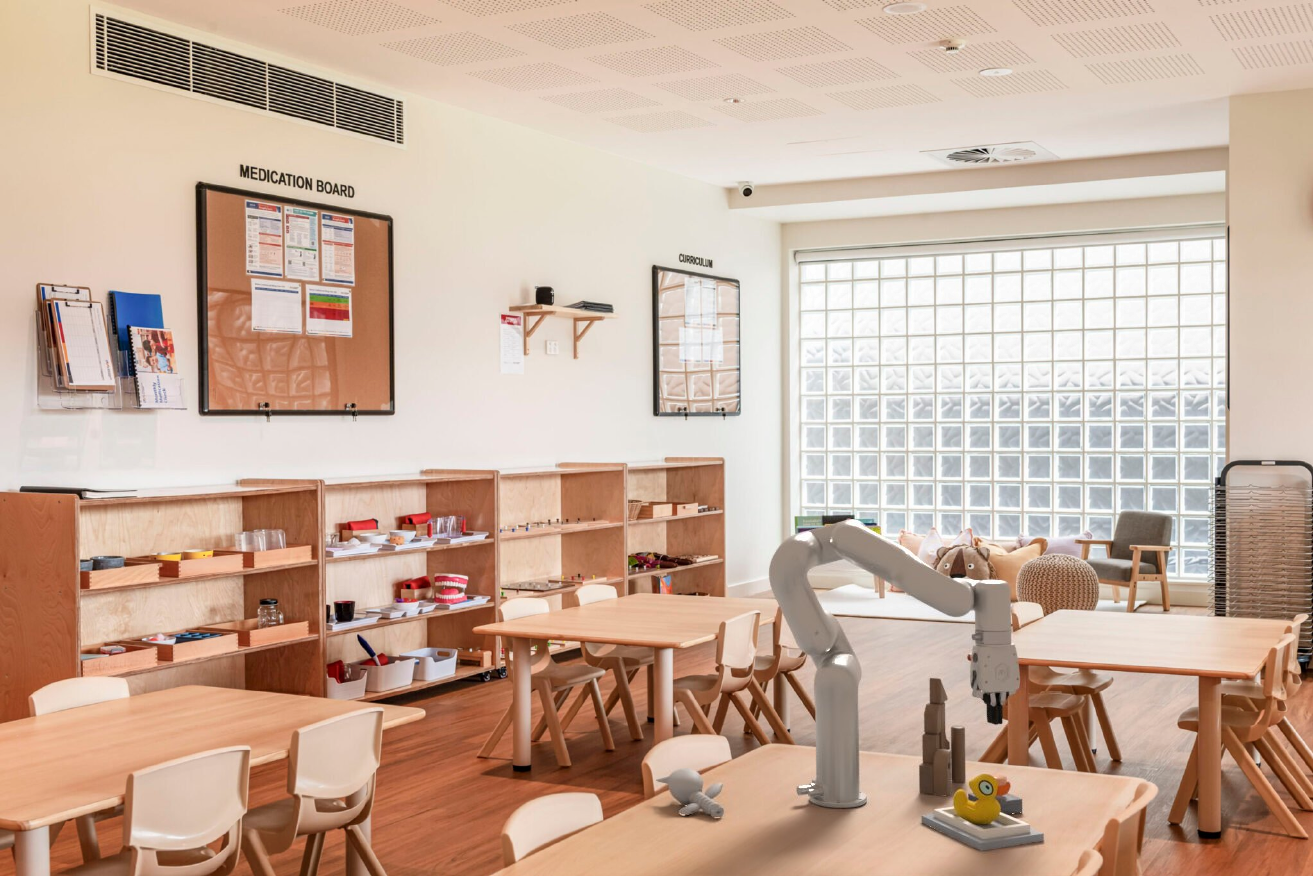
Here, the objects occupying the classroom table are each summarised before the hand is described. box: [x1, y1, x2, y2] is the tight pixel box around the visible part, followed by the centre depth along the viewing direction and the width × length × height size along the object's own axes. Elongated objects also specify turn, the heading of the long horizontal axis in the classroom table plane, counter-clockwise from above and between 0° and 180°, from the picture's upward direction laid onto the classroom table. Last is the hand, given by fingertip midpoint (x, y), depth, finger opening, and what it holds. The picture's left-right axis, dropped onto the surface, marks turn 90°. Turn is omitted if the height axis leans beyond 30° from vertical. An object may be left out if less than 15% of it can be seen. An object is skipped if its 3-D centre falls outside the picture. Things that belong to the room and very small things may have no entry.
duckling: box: [952, 773, 1011, 824], centre depth 252 cm, size 11×5×10 cm, turn 70°
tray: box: [920, 806, 1045, 852], centre depth 251 cm, size 15×20×3 cm
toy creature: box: [655, 767, 725, 818], centre depth 270 cm, size 13×7×20 cm
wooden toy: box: [918, 677, 966, 797], centre depth 285 cm, size 15×7×25 cm, turn 151°
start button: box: [988, 773, 1008, 785], centre depth 266 cm, size 5×5×3 cm
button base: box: [967, 792, 1023, 815], centre depth 266 cm, size 8×8×3 cm
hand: (994, 723), depth 266 cm, fingers closed
